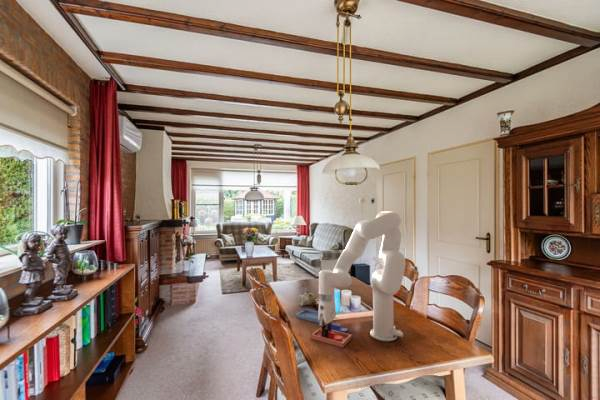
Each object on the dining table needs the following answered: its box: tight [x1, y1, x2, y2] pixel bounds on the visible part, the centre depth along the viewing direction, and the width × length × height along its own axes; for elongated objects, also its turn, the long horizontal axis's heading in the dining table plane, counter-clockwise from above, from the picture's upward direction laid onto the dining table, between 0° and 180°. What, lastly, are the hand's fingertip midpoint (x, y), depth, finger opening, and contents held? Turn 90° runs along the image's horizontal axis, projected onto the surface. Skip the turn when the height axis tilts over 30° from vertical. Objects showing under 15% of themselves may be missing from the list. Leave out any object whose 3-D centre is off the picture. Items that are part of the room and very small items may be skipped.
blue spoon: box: [331, 322, 349, 334], centre depth 142 cm, size 11×4×3 cm, turn 58°
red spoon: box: [321, 330, 342, 342], centre depth 133 cm, size 11×4×3 cm, turn 58°
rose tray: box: [310, 327, 353, 348], centre depth 133 cm, size 16×10×2 cm, turn 58°
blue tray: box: [295, 308, 320, 324], centre depth 159 cm, size 16×10×2 cm, turn 58°
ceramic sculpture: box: [297, 291, 318, 307], centre depth 179 cm, size 11×9×15 cm
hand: (326, 335), depth 134 cm, fingers closed
